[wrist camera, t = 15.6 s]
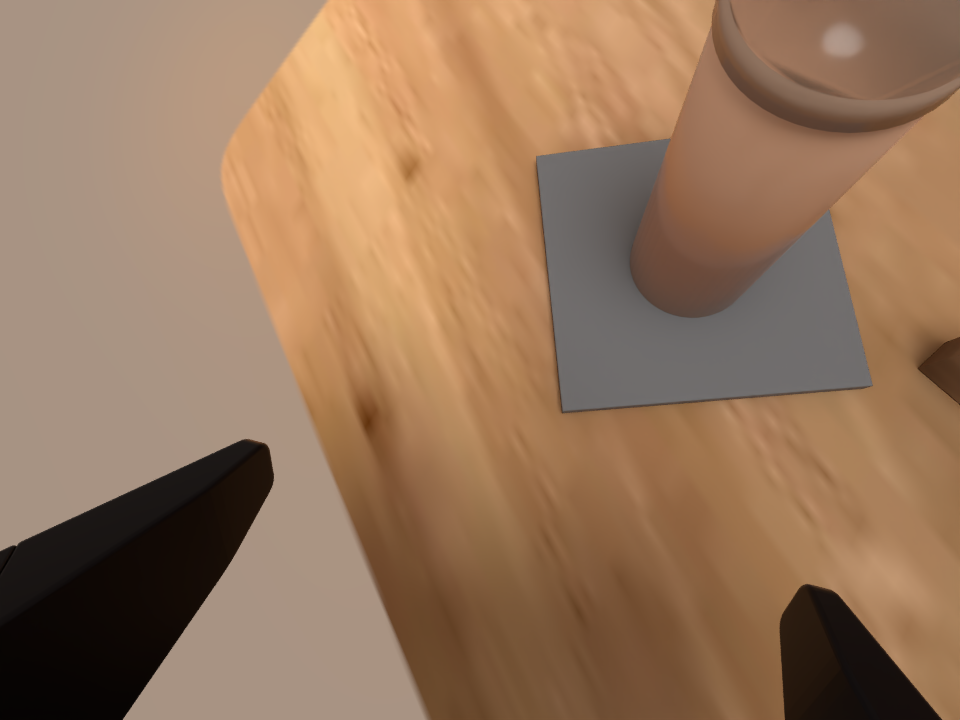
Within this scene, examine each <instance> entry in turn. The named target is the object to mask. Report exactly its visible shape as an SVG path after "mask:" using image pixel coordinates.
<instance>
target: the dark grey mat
mask: <svg viewBox="0 0 960 720" xmlns="http://www.w3.org/2000/svg"><path fill="white" fill-rule="evenodd" d="M669 142H670V139H664V140H656V141H649V142H641V143H633V144H626V145H618V146H611V147H603V148H595V149H588V150H580V151H572V152H565V153H557V154H549V155H542V156H536V160H537V172H538V182H539V191H540V201H541V211H542V220H543V230H544V240H545V250H546V259H547V269H548V279H549V288H550V298H551V308H552V317H553V327H554V337H555V346H556V356H557V366H558V376H559V385H560V395H561V405H562V413H570V412H582V411H594V410H607V409H619V408H631V407H643V406H655V405H668V404H680V403H692V402H704V401H717V400H729V399H741V398H753V397H765V396H778V395H790V394H802V393H814V392H826V391H839V390H851V389H863V388H867V387H870V386H873V385H872V381H871V377H870V373H869V369H868V365H867V361H866V357H865V353H864V348H863V344H862V340H861V336H860V332H859V328H858V324H857V320H856V316H855V312H854V308H853V304H852V300H851V296H850V292H849V288H848V284H847V280H846V276H845V272H844V268H843V264H842V260H841V256H840V251H839V247H838V243H837V239H836V235H835V231H834V227H833V223H832V219H831V215H830V211H829V210H828V211H827V212H826V213H825V214H824V215H823V216H822V217H821V218H820V219H819V220H818V221H817V222H816V223H815V224H814V225H813V226H812V227H810V228H809V229H808V230H807V231H806V232H805V233H804V234H803V235H802V236H801V237H800V238H799V239H798V240H797V241H796V242H795V243H794V244H793V245H792V246H791V247H790V248H789V249H788V250H787V251H786V252H785V253H784V254H783V255H782V256H781V257H780V258H779V259H778V260H777V261H776V262H775V263H774V264H773V265H772V266H771V267H770V268H769V269H768V270H767V271H766V272H765V273H764V274H763V275H762V276H761V277H760V278H759V279H758V280H757V281H756V282H755V283H754V284H753V285H752V286H751V287H750V288H749V289H748V290H747V291H746V292H745V293H743V294H742V295H741V296H740V297H739V298H738V299H737V300H736V301H735V302H734V303H733V304H732V305H731V306H729V307H728V308H726V309H724V310H723V311H721V312H718V313H716V314H713V315H710V316H706V317H698V318H688V317H680V316H676V315H672V314H669V313H667V312H664V311H662V310H660V309H658V308H657V307H655V306H654V305H653V304H651V303H650V302H649V301H648V300H647V299H646V298H645V297H644V296H643V295H642V294H641V293H640V291H639V290H638V288H637V286H636V284H635V282H634V280H633V277H632V274H631V270H630V252H631V248H632V245H633V242H634V239H635V237H636V234H637V231H638V228H639V226H640V223H641V220H642V217H643V214H644V212H645V209H646V206H647V203H648V201H649V198H650V195H651V192H652V189H653V187H654V184H655V181H656V178H657V176H658V173H659V170H660V167H661V164H662V162H663V159H664V156H665V153H666V151H667V148H668V145H669Z"/></svg>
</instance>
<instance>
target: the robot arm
mask: <svg viewBox="0 0 960 720" xmlns="http://www.w3.org/2000/svg"><path fill="white" fill-rule="evenodd" d="M273 481H274V473H273V467H272V462H271V456H270V450H269V448H268V446H267V445H266V444H265V443H262V442H258V441H254V440H250V439H244V440H241V441H239V442H237V443H234V444H232V445H230V446H228V447H226V448H223V449H221V450H219V451H217V452H215V453H212V454H210V455H208V456H206V457H204V458H202V459H199V460H197V461H196V462H193V463H191V464H189V465H187V466H184V467H182V468H180V469H178V470H176V471H173V472H171V473H169V474H167V475H165V476H163V477H160V478H158V479H156V480H154V481H152V482H150V483H147V484H146V485H143V486H141V487H139V488H137V489H135V490H132V491H130V492H128V493H126V494H124V495H121V496H119V497H117V498H115V499H113V500H111V501H108V502H106V503H104V504H102V505H100V506H97V507H95V508H93V509H91V510H89V511H87V512H84V513H83V514H81V515H78V516H76V517H74V518H71V519H69V520H67V521H65V522H63V523H61V524H58V525H56V526H54V527H52V528H50V529H48V530H45V531H43V532H41V533H39V534H37V535H35V536H32V537H30V538H28V539H26V540H24V541H21V542H20V543H19V544H18V545H17V546H10V547H8V548H6V549H4V550H2V551H0V720H123V718H124V717H125V715H126V714H127V712H128V711H129V710H130V708H131V707H132V705H133V704H134V702H135V701H136V700H137V698H138V697H139V695H140V694H141V692H142V691H143V689H144V688H145V686H146V685H147V683H148V682H149V681H150V679H151V678H152V676H153V675H154V673H155V672H156V670H157V669H158V667H159V666H160V665H161V663H162V662H163V660H164V659H165V657H166V656H167V655H168V653H169V652H170V650H171V649H172V647H173V646H174V644H175V643H176V641H177V640H178V638H179V637H180V636H181V634H182V633H183V631H184V630H185V628H186V627H187V626H188V624H189V623H190V621H191V620H192V618H193V617H194V615H195V614H196V612H197V611H198V610H199V608H200V607H201V605H202V604H203V602H204V601H205V599H206V598H207V597H208V595H209V594H210V592H211V591H212V589H213V588H214V586H215V585H216V583H217V582H218V581H219V579H220V578H221V576H222V575H223V573H224V572H225V570H226V568H227V567H228V565H229V564H230V562H231V561H232V559H233V557H234V555H235V554H236V552H237V550H238V549H239V547H240V545H241V543H242V541H243V539H244V538H245V536H246V534H247V532H248V530H249V529H250V527H251V525H252V523H253V521H254V519H255V517H256V516H257V514H258V512H259V510H260V508H261V507H262V505H263V503H264V501H265V499H266V498H267V496H268V494H269V492H270V490H271V488H272V485H273ZM780 645H781V663H782V680H783V697H784V714H785V720H942V719H941V718H940V717H939V715H938V714H937V713H936V712H935V711H934V709H933V708H932V707H931V706H930V705H929V703H928V702H927V701H926V700H925V699H924V697H923V696H922V695H921V694H920V692H919V691H918V690H917V689H916V688H915V686H914V685H913V684H912V683H911V682H910V680H909V679H908V678H907V677H906V676H905V674H904V673H903V672H902V671H901V670H900V668H899V667H898V666H897V665H896V664H895V662H894V661H893V660H892V659H891V658H890V656H889V655H888V654H887V653H886V652H885V650H884V649H883V648H882V647H881V646H880V644H879V643H878V642H877V641H876V640H875V638H874V637H873V636H872V635H871V634H870V632H869V631H868V630H867V629H866V628H865V626H864V625H863V624H862V623H861V621H860V620H859V619H858V618H857V617H856V615H855V614H854V613H853V612H852V611H851V609H850V608H849V607H848V606H847V605H846V603H845V602H844V601H843V600H842V599H841V597H840V596H839V595H838V594H836V593H835V592H834V591H832V590H829V589H825V588H822V587H818V586H814V585H810V584H805V585H803V586H801V587H800V588H799V590H798V591H797V593H796V594H795V596H794V597H793V599H792V600H791V602H790V603H789V605H788V606H787V608H786V609H785V611H784V612H783V614H782V617H781V620H780Z"/></svg>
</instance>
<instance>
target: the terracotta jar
mask: <svg viewBox="0 0 960 720" xmlns="http://www.w3.org/2000/svg"><path fill="white" fill-rule="evenodd" d="M959 88H960V0H716V1H715V5H714V9H713V13H712V26H711V28H710V31H709V34H708V37H707V39H706V42H705V45H704V48H703V51H702V53H701V56H700V59H699V62H698V64H697V67H696V70H695V73H694V76H693V78H692V81H691V84H690V87H689V89H688V92H687V95H686V98H685V101H684V103H683V106H682V109H681V112H680V114H679V117H678V120H677V123H676V126H675V128H674V131H673V134H672V137H671V139H670V142H669V145H668V148H667V151H666V153H665V156H664V159H663V162H662V164H661V167H660V170H659V173H658V176H657V178H656V181H655V184H654V187H653V189H652V192H651V195H650V198H649V201H648V203H647V206H646V209H645V212H644V214H643V217H642V220H641V223H640V226H639V228H638V231H637V234H636V237H635V239H634V242H633V245H632V248H631V252H630V270H631V274H632V277H633V280H634V282H635V284H636V286H637V288H638V290H639V291H640V293H641V294H642V295H643V296H644V297H645V298H646V299H647V300H648V301H649V302H650V303H651V304H653V305H654V306H655V307H657V308H658V309H660V310H662V311H664V312H667V313H669V314H672V315H676V316H680V317H688V318H698V317H706V316H710V315H713V314H716V313H718V312H721V311H723V310H724V309H726V308H728V307H729V306H731V305H732V304H733V303H734V302H735V301H736V300H737V299H738V298H739V297H740V296H741V295H742V294H743V293H745V292H746V291H747V290H748V289H749V288H750V287H751V286H752V285H753V284H754V283H755V282H756V281H757V280H758V279H759V278H760V277H761V276H762V275H763V274H764V273H765V272H766V271H767V270H768V269H769V268H770V267H771V266H772V265H773V264H774V263H775V262H776V261H777V260H778V259H779V258H780V257H781V256H782V255H783V254H784V253H785V252H786V251H787V250H788V249H789V248H790V247H791V246H792V245H793V244H794V243H795V242H796V241H797V240H798V239H799V238H800V237H801V236H802V235H803V234H804V233H805V232H806V231H807V230H808V229H809V228H810V227H812V226H813V225H814V224H815V223H816V222H817V221H818V220H819V219H820V218H821V217H822V216H823V215H824V214H825V213H826V212H827V211H828V210H829V209H830V208H831V207H832V206H833V205H834V204H835V203H836V202H837V201H838V200H839V199H840V198H841V197H842V196H843V195H844V194H845V193H846V192H847V191H848V190H849V189H850V188H851V187H852V186H853V185H854V184H855V183H856V182H857V181H858V180H859V179H860V178H861V177H862V176H863V175H864V174H865V173H866V172H867V171H868V170H869V169H870V168H871V167H872V166H873V165H874V164H875V163H876V162H877V161H879V160H880V159H881V158H882V157H883V156H884V155H885V154H886V153H887V152H888V151H889V150H890V149H891V148H892V147H893V146H894V145H895V144H896V143H897V142H898V141H899V140H900V139H901V138H902V137H903V136H904V135H905V134H906V133H907V132H908V131H909V130H910V129H911V128H912V127H913V126H914V125H915V124H916V123H917V122H918V121H919V120H920V119H921V118H922V117H923V116H924V115H926V114H927V113H929V112H931V111H933V110H935V109H936V108H937V107H939V106H940V105H941V104H943V103H944V102H945V101H947V100H948V99H949V98H950V97H951V96H952V95H953V94H954V93H955V92H956V91H957V90H958V89H959Z"/></svg>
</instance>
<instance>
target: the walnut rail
mask: <svg viewBox="0 0 960 720" xmlns="http://www.w3.org/2000/svg"><path fill="white" fill-rule="evenodd" d="M918 369H919V370H920V371H921V372H923V373H924V374H925V375H926V376H927V377H929V378H930V379H931V380H932V381H933V382H934V383H936V384H937V385H938V386H939V387H940V388H942V389H943V390H944V391H945V392H946V393H947V394H949V395H950V396H951V397H952V398H953V399H955V400H956V401H957V402H958V403H959V404H960V337H959V338H956V339H953V340H951V341H948V342H946V343H945V344H943V345H942V346H941V347H940V348H939V349H938V350H937V351H936V352H935V353H934V354H933V355H932V356H931V357H930V358H929V359H927V360H926V361H925V362H924V363H923V364H922V365H921V366H920V367H919V368H918Z"/></svg>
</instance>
